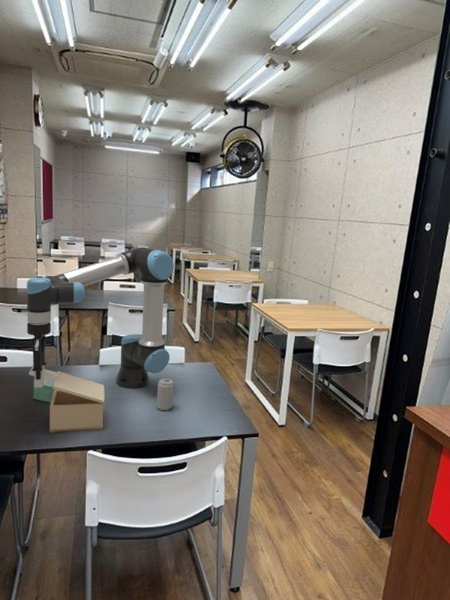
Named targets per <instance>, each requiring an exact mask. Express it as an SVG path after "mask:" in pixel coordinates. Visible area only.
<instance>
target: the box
mask: <svg viewBox="0 0 450 600" xmlns="http://www.w3.org/2000/svg"><path fill="white" fill-rule="evenodd" d="M32 385H33V389H32V399H33V400H37V401H41V402H44V403H45V402H46V403H48V404H51V400H52V396H53V392H54V390H56V389H53V385H54V382H52V381H49V380H45V379H44V383H43V387H36V388H34V382H33V384H32Z"/></svg>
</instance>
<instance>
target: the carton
mask: <svg viewBox="0 0 450 600" xmlns="http://www.w3.org/2000/svg"><path fill="white" fill-rule="evenodd" d="M49 404H50V406H49V433H51V434H52V433H65V432H79V431H93V430H103V427H104V426H103V423H104V403H100V402H97V401H93V400H90V399H86V398H83V397H80V396H76V395H73V394H69V393H66V392H63V391H59V390H54V392H53V396H52V400H51V403H49Z"/></svg>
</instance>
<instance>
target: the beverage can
mask: <svg viewBox="0 0 450 600" xmlns="http://www.w3.org/2000/svg"><path fill="white" fill-rule="evenodd" d="M156 393H157V394H156V408H157V409H158V410H159V411H163V410H165V411H168V409H169V410H170V409H172V408H173V396H174V395H173V393H174V382H173V380H172V379H171V378H161V379H159V381H158V382H157V392H156Z"/></svg>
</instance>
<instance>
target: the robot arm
mask: <svg viewBox="0 0 450 600" xmlns="http://www.w3.org/2000/svg"><path fill="white" fill-rule="evenodd" d="M174 267H175V264H174V261H173V258H172V257H171V255H170V254H169V253H167V252H166V251H163V250H160V249H154V248H148V247H137V248H136V247H135V248H131V249H130V250H126V251H123V252H120V253H117V254H116V256H115V257H111V258H108V259H105V260H102V261H99V262H95V263H93V264H89V265H86V266H82V267H80V268H79V267H78V268H77V269H73V270H70V271H67V272H63V273H59V274H57V275H44V276H42V277H31V278H29V279H28V280H27V281H26V291H25V293H26V312H25V313H24V315H25V316H27V318H26V319H27V324H26V332H27V334H28V335H30V336H34V337H33V338H32V342H31V344H32V348H31V349H32V364H33V365H32V366H33V369H32V371H34V376H33V377H34V378H33V380H34V381H33V383H34V388H36V387H43V383H44V379H43V369H42V368H44V369H45V366H46V365H47V362H45V361H46V359H45V358H46V356H45V355H46V341H47V337H46V335H49V334H50V333H51V331H52V329H51V326H52V324H51V320H52V306H53V305H65V304H76V303H81V302H83V301H84V299H85V296H86V290H85V287H87V286H89V285H92V284H95V283H98V282H101V281H105V280H108V279H111V278H113V277H116V276H119V275H129V274H140V278H139V279H140V282H141V284H142V285H143V294H142V295H143V298H142V299H143V301H142V302H143V303H142V327H141V328H142V330H141V331H142V333H138V334H135V333H133V334H127V335H124V336H123V337H121V342H120V345H121V347H120V348H121V350H120V367H119V369H118V372H117V375H116V378H115V379H116V380H115V382H116V384H117V385H118V386H119V387H122V388H126V389H140V388H143V387H145V386H147V385H148V384H149V374H148V373H151V374H158V373H161V372H163V371H164V370H165V368H167V366H168V365H169V361H170V353H169V351H168V350H167V349H166V342H165V339H164V338H163V337H162V336H163V320H164V319H163V316H164V314H163V313H164V294H165V293H164V290H165V285H167V284H168V279H169V278H170V277H171V276H172V274H173V273H174V269H175V268H174ZM51 305H52V306H51Z"/></svg>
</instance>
